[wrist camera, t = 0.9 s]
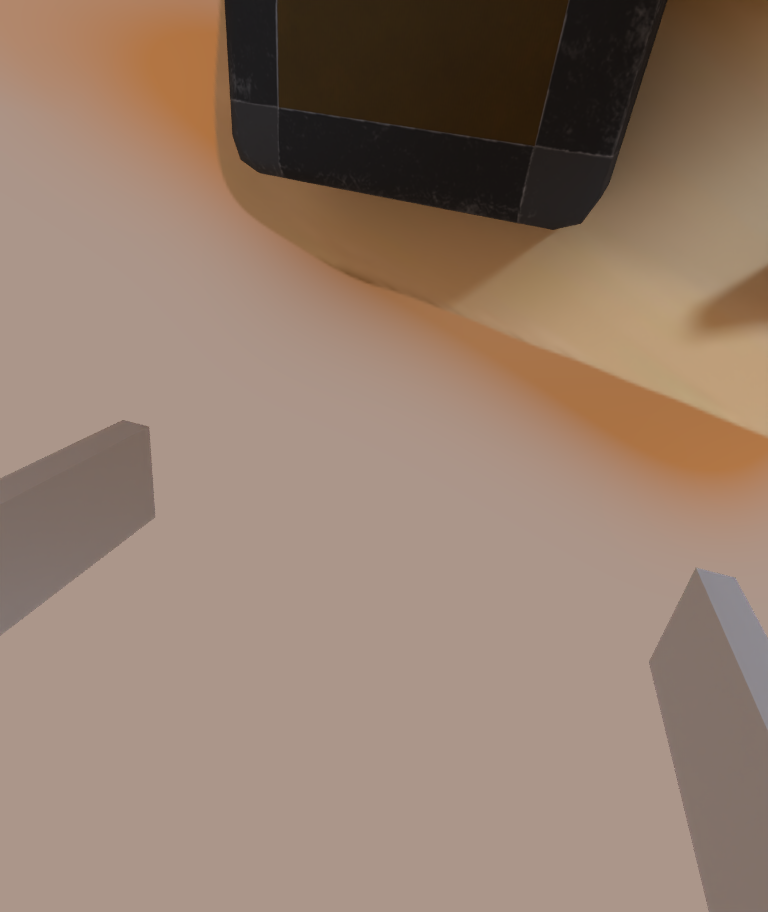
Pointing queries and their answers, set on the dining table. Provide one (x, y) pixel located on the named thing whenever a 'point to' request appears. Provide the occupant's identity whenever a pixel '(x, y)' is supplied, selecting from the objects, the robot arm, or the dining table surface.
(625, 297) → the dining table surface
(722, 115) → the dining table surface
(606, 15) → the cash box
